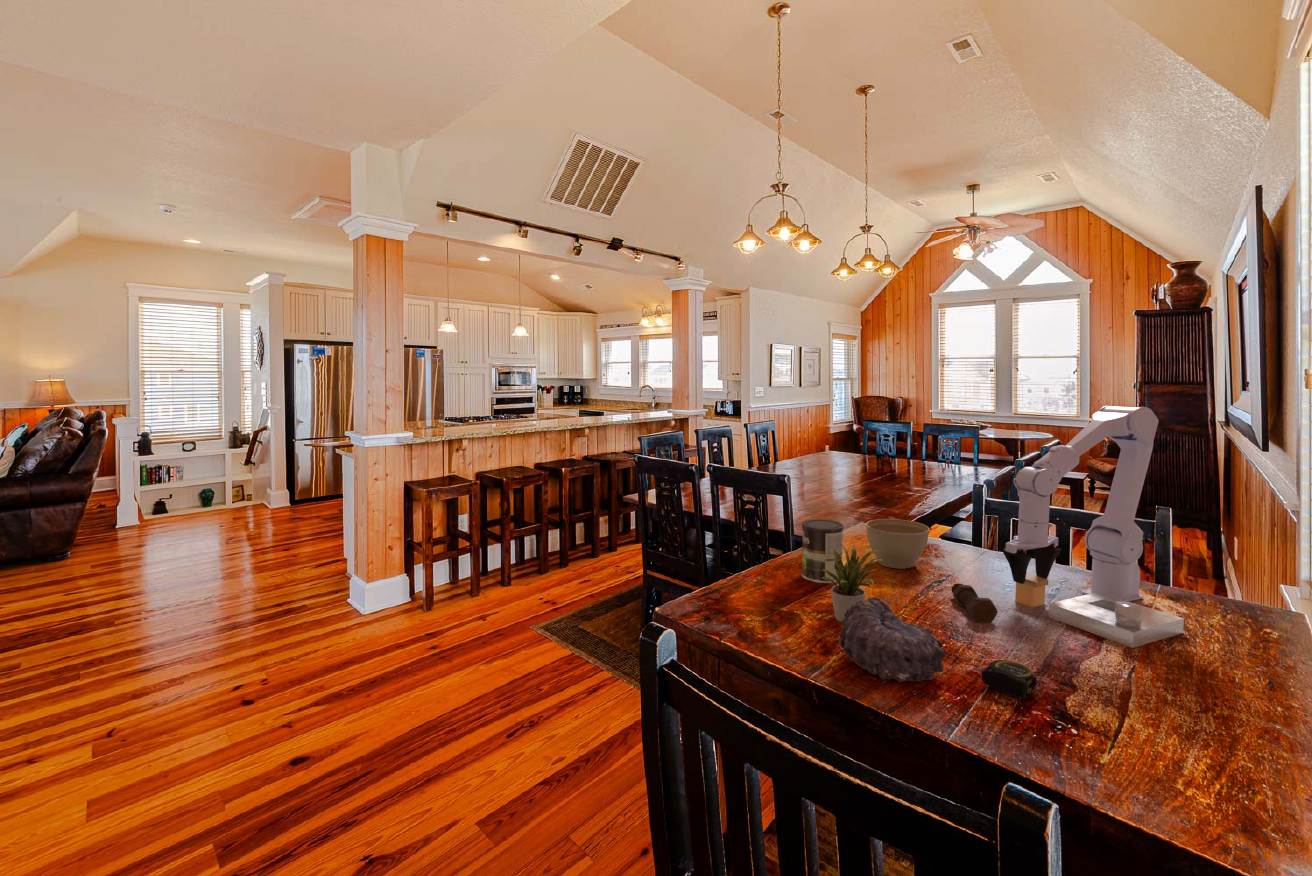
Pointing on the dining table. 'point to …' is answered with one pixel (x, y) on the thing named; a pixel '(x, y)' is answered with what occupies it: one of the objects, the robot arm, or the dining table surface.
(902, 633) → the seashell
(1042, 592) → the tan chamfered block
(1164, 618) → the grey slab with hole
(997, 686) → the tape measure
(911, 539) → the planter bowl
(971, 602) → the bolt
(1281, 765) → the dining table surface
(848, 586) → the house plant
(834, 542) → the coffee can
